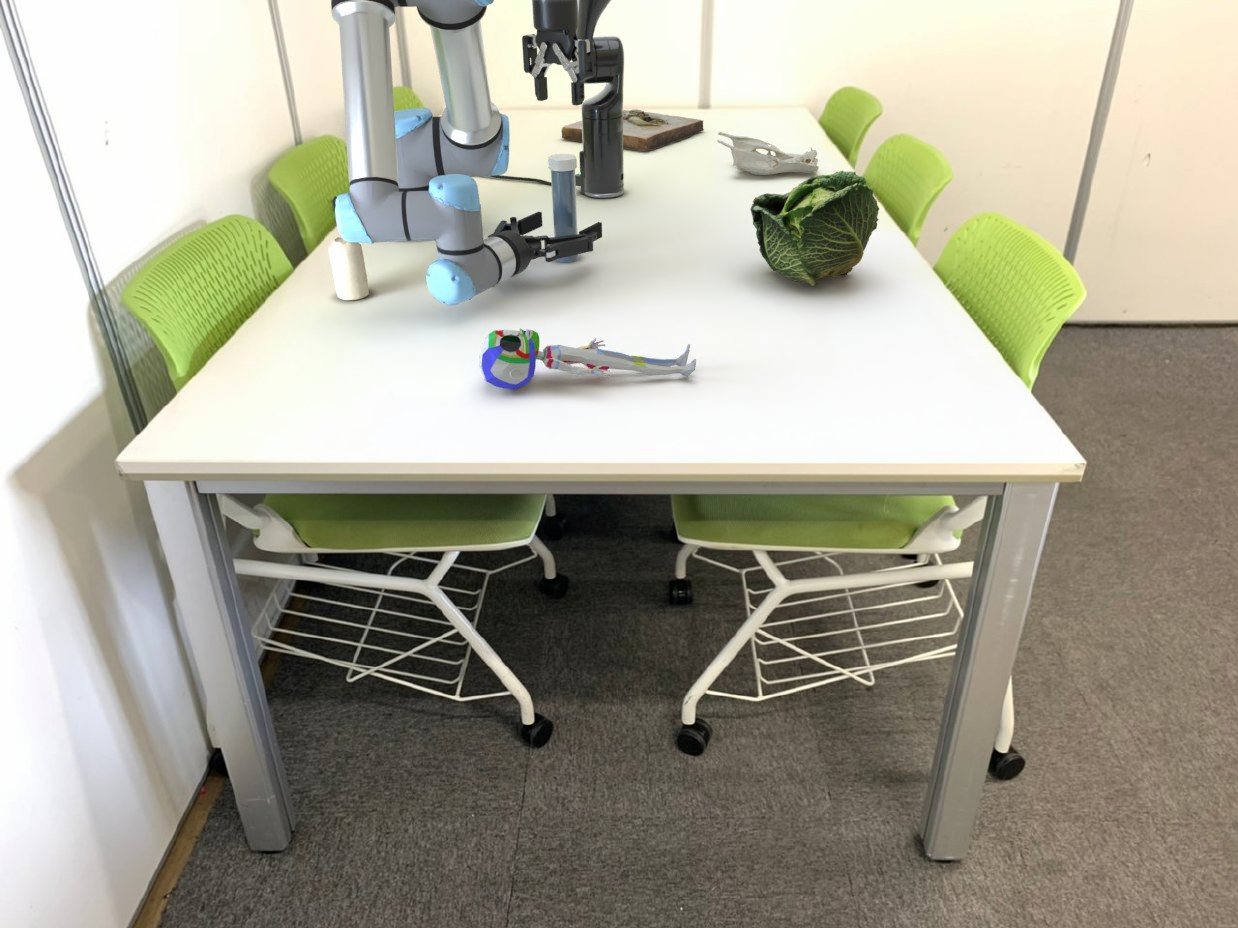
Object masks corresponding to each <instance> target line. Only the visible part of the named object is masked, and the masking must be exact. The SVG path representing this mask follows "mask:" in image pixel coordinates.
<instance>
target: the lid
mask: <svg viewBox="0 0 1238 928" xmlns="http://www.w3.org/2000/svg"><path fill="white" fill-rule="evenodd" d="M547 161H548V163H547V164H548V165H547V166H548V170H550V171H551V170H552V171H560V172H563V171H571V170H574V169H575V170H576V169H577V167H578V162H577V156H576V155H575V154H571V153H555V154H552V155H549V156H548V159H547Z"/></svg>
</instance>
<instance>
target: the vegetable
mask: <svg viewBox="0 0 1238 928" xmlns="http://www.w3.org/2000/svg"><path fill="white" fill-rule="evenodd" d="M856 172H857V171H844V170H840V171H835V172H833V173H832V174H821V175H817V176H812V177H809V178H808V179H805V180H804V181H802V182H801V183H799V184H798V185H797V186H794V187H793V188H792V189H791V190H790V191H789V192H787V193H784V194H779V193H769V192H766V193H764V194H761V195H759V196H756V197H754V199H753V200H752V204H751V207H750V208H749V209H750V213H751V217H752V225H753V226H754V228H755V229H756V232H755V236H756V238H757V244H758V246H759V253H760V255H761V257H762V258H763V259H764V260H765V262H766V264H767V265H768V267H769V268H770V269H771V270H772V271H773V272H779V273H780V274H781V275H782V276H783V277H786V278H788V279H789V280H791V281H795V282H797V283H806V284H809V285H810V286H811V287H814V286H815V285H819V282H818V280H820V279H822V278H826V277H827V278H828V277H833V278H837V277H838V276H848V273H850V272H852V270H853V269H854V267H855V266H857V265H858V264H859V263H860V262H861V261H862V259H863V256H864V254H865V253H864V252H865V250H866V248H867V246H868V243H869V241H870V237H871V236H872V233H873V232H874V231H875V230H876V229H877V227H878V221H879V219H880V218H878V216H879V210H880V207H879V205H878V201H877V199H876V198H875V196H874V191H873V190H872V187H869V186H868V184H867V180H866V179H865V177H864V176H861V175H859V174H857V173H856Z"/></svg>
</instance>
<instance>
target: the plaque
mask: <svg viewBox="0 0 1238 928" xmlns="http://www.w3.org/2000/svg"><path fill="white" fill-rule="evenodd" d="M704 130H705V129H704V120H702V119H698V118H693V117H685V116H679V115H669V114H663V113H659V112H650V111H644V110H642V109H637V108H636V109H635V108H634V109H630V110H629V109H623V149H625V150H632V151H640V152H648V151H654V150H656V149H659V148H662V147H663V146H664V147H665V146H667V145H670V144H672V143H676V142H680V141H682V140H684V139H687V138H691V137H692V136H694V135H696V134H698V133H700V132H704ZM561 138H562V139H563V140H568V141H573V142H581V143H583V140H582V120H579V121H577V122H573V123H569V124H567V125H564V126H562V127H561Z"/></svg>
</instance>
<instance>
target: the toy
mask: <svg viewBox="0 0 1238 928" xmlns="http://www.w3.org/2000/svg"><path fill="white" fill-rule="evenodd" d="M601 343H603V344H601ZM605 346H606V343H605V344H604V340H603V339H602V340H599V341H597V338H596V337H595V338H594V339H593V340H591V341H590V342H589V344H588V345H584V346H583V345H582V346H579V347H572V346H567V345H562V344H552V345H551V344H550V345H546V346H545V347H544V348H543V349H542V351H540V335H539V333H538V332H537V331H535V330H533V329H530V328H526V329H525V330H524V329H522V328H519V330H513V329H499V330H497V329H494V330H493V331H491V332H490V333H488V335H487V336H486V338H485V339H484V340H483V343H482V344H481V346H480V351H479V363H478V367H479V369H480V372H481V374H482V378H483V379H484V381H485V382H486V383H488V384H490V385H492V386H493V387H497V388H501V389H504V390H514V391H515V390H516V389H519V388H522V387H525V386H526V385H528V384H529V383H530V382H531V380H532V379H533V378H534V376H535V373H536V367H537V366H536V363H537V360H538V361H542V363H543V364H544V366H545V368H547V369H549V370H559V371H561V372H567V373H569V374H572V375H576V376H588V375H594V376H599V377H604V378H607V379H609V376H611V377H612V376H613V375H612V374H611V373H607V372H610V370H619V371H621V370H622V371H634V372H637V373H642V374H644V375H648V376H667V375H674V374H680V375H681V376H684V377H689V376H690V375H691V374H692V373H693V372H694V371H696V367H697V366H696V365H697V359H696V358H694V359H693V360H692V361H691V362H690V363H688V360H689V359H688V358H689V355H690V350H691V344H690V343H688V344H687V345H686V349H685V351H684V352H683V353H682V354H681V355H680V356H678V357H677V358H671V359H670V358H656V357H655V358H654V357H646V356H639V355H629V354H626V353H623V352H618V351H612V350H606V349H601V348H599V347H605ZM687 363H688V364H687ZM576 364H577V365H578V364H582V365H583V366H586V367H583V366H576Z"/></svg>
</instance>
